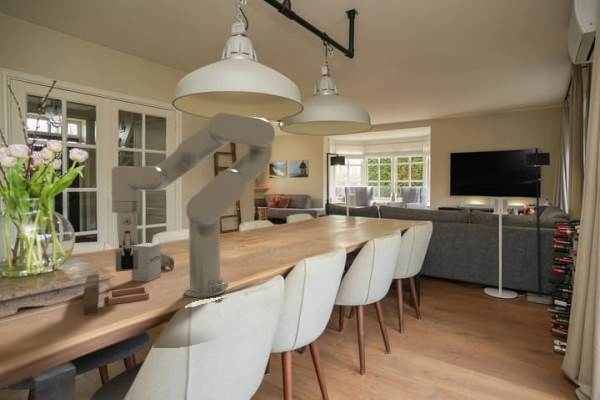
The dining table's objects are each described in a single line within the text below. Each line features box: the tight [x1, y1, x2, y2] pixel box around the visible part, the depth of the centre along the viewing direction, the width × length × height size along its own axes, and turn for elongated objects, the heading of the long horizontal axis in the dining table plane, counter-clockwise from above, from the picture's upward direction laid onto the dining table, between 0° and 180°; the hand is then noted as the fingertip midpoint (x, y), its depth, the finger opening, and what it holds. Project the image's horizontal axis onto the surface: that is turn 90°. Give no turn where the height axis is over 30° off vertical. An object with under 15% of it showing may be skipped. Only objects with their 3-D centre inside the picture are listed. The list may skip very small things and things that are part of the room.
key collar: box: [108, 285, 150, 305], centre depth 103 cm, size 11×9×2 cm
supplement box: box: [130, 242, 162, 282], centre depth 124 cm, size 7×7×13 cm
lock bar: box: [114, 248, 138, 273], centre depth 103 cm, size 6×4×6 cm, turn 119°
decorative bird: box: [161, 251, 175, 271], centre depth 140 cm, size 5×16×8 cm, turn 58°
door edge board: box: [82, 273, 100, 316], centre depth 98 cm, size 20×3×6 cm, turn 29°
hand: (127, 266), depth 103 cm, fingers closed on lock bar, 4 cm apart
